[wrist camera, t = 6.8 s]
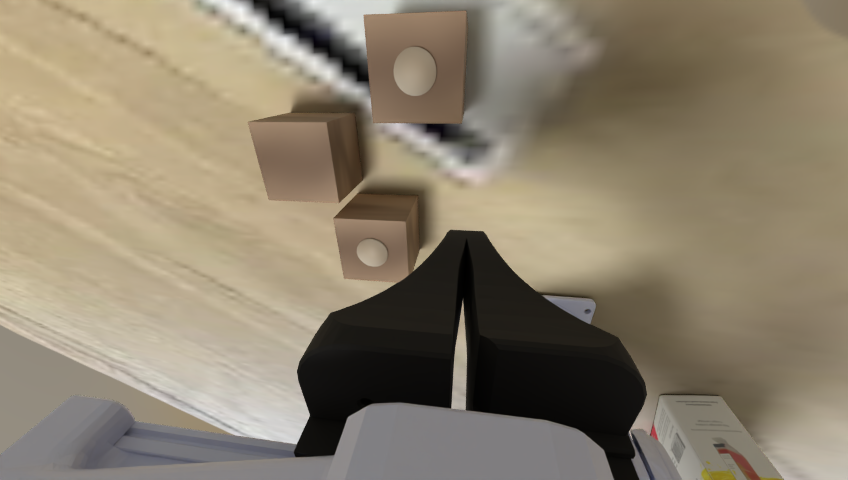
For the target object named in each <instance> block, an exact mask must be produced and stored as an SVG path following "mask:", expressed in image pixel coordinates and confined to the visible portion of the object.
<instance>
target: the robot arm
mask: <svg viewBox="0 0 848 480" xmlns="http://www.w3.org/2000/svg"><path fill="white" fill-rule="evenodd" d="M462 301H463V303H464V317H465V330H466V343H467V383H466V410H458V409H451V402H452V385H453V368H454V354H455V345H456V339H457V333H458V327H459V320H460V314H461V308H462ZM595 308H596V304H595V302H594V300H592V299H588V298H575V297H562V296H549V295H540V294H539V293H538V292H536V291H535V290H534V289H533V288H531V287H530V286H529V285H528V284H527V283H525V282H524V281H523V280H522V279H521V278H520V277H519V276H518V275H517V274H516V273H515V272H514V271H513V270H512V269H511V268H510V267H509V266H508V265H507V263H506V262H505V261H504V260H503V259H502V257H501V256H500V255H499V253H498V252H497V251H496V249H495V248H494V247H493V245H492V244H491V242H490V240H489V239H488V237H487V235H486V234H485V233H484V232H483V231H463V230H450V231H449V232H447V234H446V236H445V237H444V239H443V240H442V242H441V243H440V244H439V245H438V247H437V248H436V249H435V250H434V251H433V253H432V254H431V255H430V256H429V257H428V258H427V259H426V260H425V261H424V262H423V263H422V264H421V265H420V266H419V267H418V268H417V269H416V270H414V271H413V272H412V273H411V274H410V275H408V276H407V277H406V278H404V279H403V280H401V281H400V282H398V283H397V284H395V285H393V286H392V287H390V288H388V289H387V290H385V291H383V292H381V293H379V294H377V295H375V296H373V297H371V298H369V299H367V300H365V301H362V302H360V303H357V304H355V305H352V306H349V307H346V308H344V309H341V310H338V311H335V312H332V313H330V314H329V316H328V317H327V319H326V320H325V321H324V323H323V324H322V325H321V327H320V328H319V330H318V331H317V333H316V334H315V336H314V338H313V339H312V341H311V343H310V345H309V346H308V348H307V350H306V351H305V353H304V355H303V357H302V358H301V360H300V362H299V366H298V370H297V374H298V380H299V384H300V387H301V390H302V393H303V396H304V399H305V401H306V404H307V407H308V410H309V413H310V417H309V419H308V422H307V424H306V426H305V428H304V430H303V432H302V435H301V437H300V439H299V441H298V443H297V444H290V443H283V442H277V441H270V440H263V439H256V438H249V437H242V436H235V435H228V434H221V433H214V432H207V431H200V430H193V429H186V428H179V427H172V426H166V425H158V424H151V423H144V422H138V421H135V418H134V416H133V415H132V413H131V412H130V411H129V409H128V408H126V407H125V406H124V405H123V404H121V403H119V402H117V401H114V400H110V399H105V398H97V397H90V396H82V395H73V396H70V397H69V398H68V399H67V400H66V401H64V402H63V403H62V404H61V405H59V406H58V407H57V408H56V409H55V410H53V411H52V412H51V413H50V414H49V415H47V416H46V417H45V418H44V419H43V420H41V421H40V422H39V423H38V424H37V425H35V426H34V427H33V428H32V429H30V431H28V432H27V433H26V434H24V435H23V436H22V437H21V438H20V439H18V440H17V441H16V442H15V443H14V444H12V445H11V446H10V447H9V448H7V449H6V450H5V451H4V452H3V453H1V454H0V480H682V478H681V476H680V474H679V473H678V471H677V469H676V467H675V465H674V463H673V461H672V460H671V458H670V456H669V455H668V453H667V451H666V450H665V448H664V447H663V445H662V444H661V443H660V442H659V441H658V440H656V439H655V438H653V437H652V436H650V435H648V434H647V433H646V431H644V430H643V429H634V430H631V435H632V438H631V437H630V434H629V430H630V429H631V427H632V425H633V423H634V421H635V420H636V418H637V416H638V414H639V413H640V411H641V409H642V407H643V405H644V402H645V399H646V396H647V392H646V386H645V382H644V380H643V378H642V376H641V375H640V373H639V371H638V369H637V367H636V365H635V363H634V362H633V360H632V358H631V356H630V355H629V353H628V352H627V350H626V349H625V347H624V346H623V344H622V343H621V341H620V340H619V338H618V337H616V336H614V335H612V334H610V333H607V332H605V331H603V330H601V329H599V328H597V327H595V326H593V325H591V324H590V323H591V320H592V317H593V314H594V311H595ZM586 309H589V310H587V311H585V310H586ZM632 439H633V440H632Z"/></svg>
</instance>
